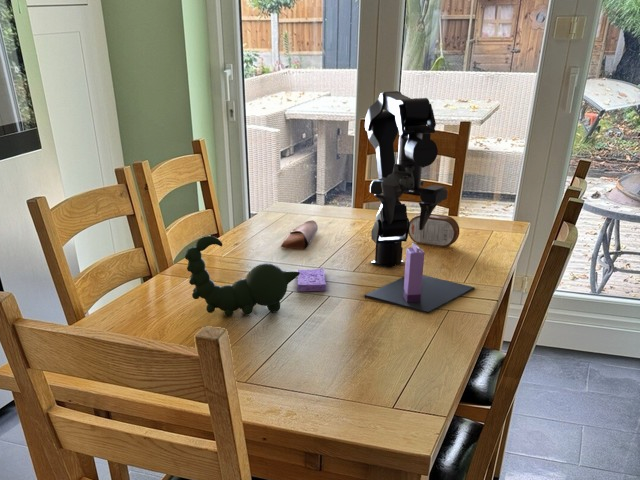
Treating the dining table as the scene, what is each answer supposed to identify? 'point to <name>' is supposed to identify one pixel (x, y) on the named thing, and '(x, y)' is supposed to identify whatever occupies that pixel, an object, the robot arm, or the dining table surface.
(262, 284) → the toy figurine
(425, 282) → the placemat
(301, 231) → the sunglasses case
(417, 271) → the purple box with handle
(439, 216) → the tin
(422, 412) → the dining table surface
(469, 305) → the dining table surface
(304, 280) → the sponge
